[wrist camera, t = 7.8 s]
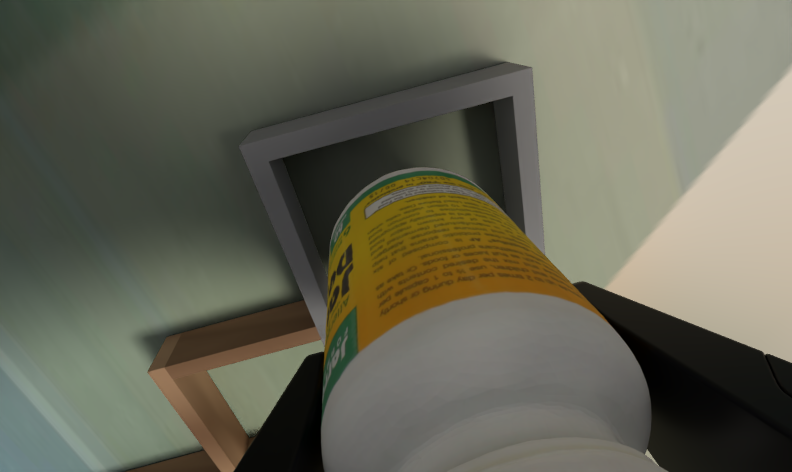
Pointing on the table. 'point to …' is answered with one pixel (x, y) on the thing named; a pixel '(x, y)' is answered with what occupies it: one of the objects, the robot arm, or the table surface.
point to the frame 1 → (214, 347)
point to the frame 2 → (185, 463)
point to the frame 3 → (495, 83)
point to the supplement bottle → (467, 344)
